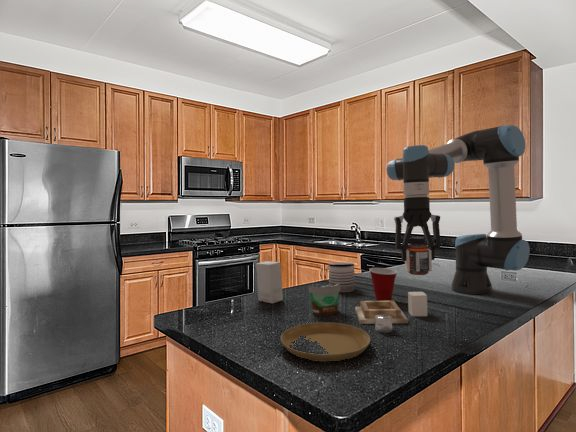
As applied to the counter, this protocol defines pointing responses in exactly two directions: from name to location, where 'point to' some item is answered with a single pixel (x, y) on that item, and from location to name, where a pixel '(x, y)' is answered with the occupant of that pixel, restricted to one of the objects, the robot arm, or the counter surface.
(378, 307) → the tray
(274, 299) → the skincare box
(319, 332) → the plant saucer
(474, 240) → the robot arm
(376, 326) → the small clear jar
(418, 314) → the off-white block
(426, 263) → the supplement bottle
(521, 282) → the counter surface
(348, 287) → the off-white ribbed cylinder
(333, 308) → the food container
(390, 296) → the plastic cup
